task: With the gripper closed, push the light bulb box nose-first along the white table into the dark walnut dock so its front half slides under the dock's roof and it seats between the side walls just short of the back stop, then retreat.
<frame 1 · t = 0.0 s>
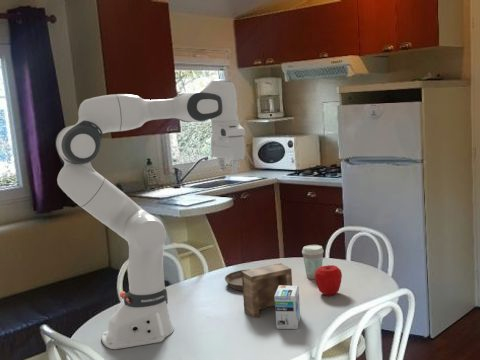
hand: (228, 172, 190), 48 cm above the table, fingers open, 8 cm apart
apple: (329, 294, 208), on the table
plant saucer: (251, 285, 225), on the table
coffee cup: (314, 277, 228), on the table
light bulb box: (288, 323, 184), on the table
walnut dock: (268, 309, 197), on the table
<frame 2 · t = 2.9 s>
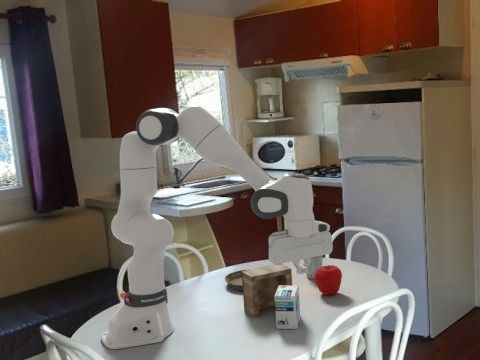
hand: (302, 273, 172), 19 cm above the table, fingers closed
nothing on the table moved.
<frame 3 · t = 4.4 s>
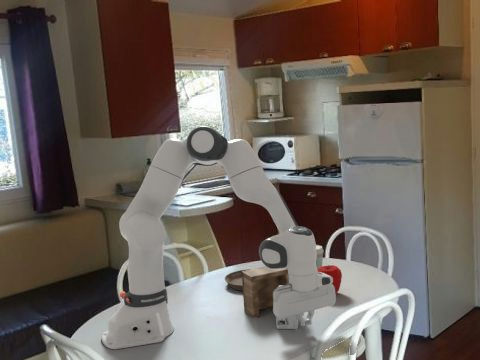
hand: (306, 324, 175), 3 cm above the table, fingers closed
nothing on the table moved.
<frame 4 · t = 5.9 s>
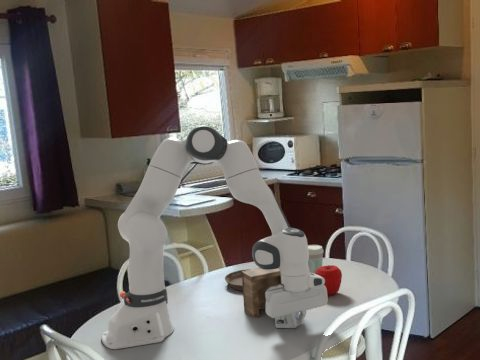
hand: (298, 324, 178), 2 cm above the table, fingers closed
light bulb box: (287, 322, 185), on the table, touching gripper
everything else where it was.
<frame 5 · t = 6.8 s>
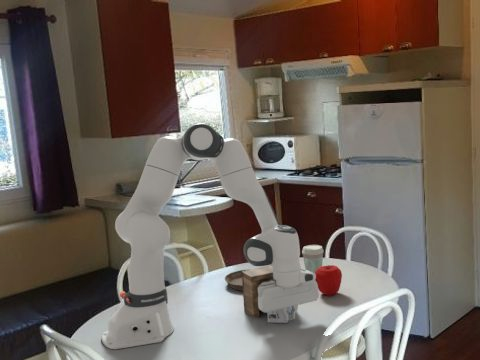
hand: (289, 319, 183), 2 cm above the table, fingers closed
light bulb box: (280, 317, 189), on the table, touching gripper
everything else where it was.
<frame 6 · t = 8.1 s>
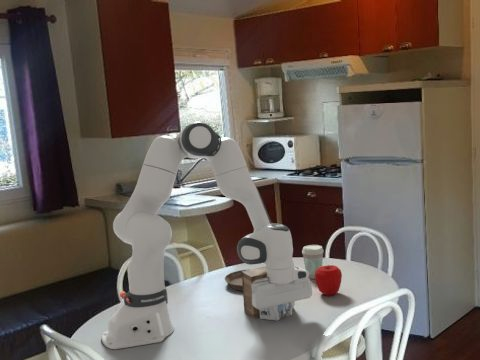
hand: (283, 316, 185), 2 cm above the table, fingers closed
light bulb box: (274, 314, 192), on the table, touching gripper, walnut dock
everything else where it was.
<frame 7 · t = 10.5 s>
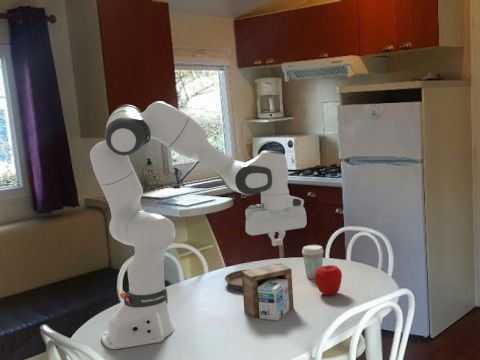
hand: (277, 245, 183), 25 cm above the table, fingers closed
light bulb box: (274, 314, 192), on the table, touching walnut dock
everything else where it was.
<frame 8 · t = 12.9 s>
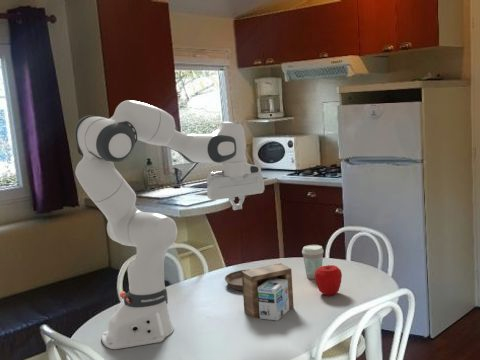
hand: (237, 209, 198), 34 cm above the table, fingers closed
nothing on the table moved.
at the end: light bulb box inside the target area (1.0 cm from its centre), on the table; light bulb box tilted 0° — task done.
